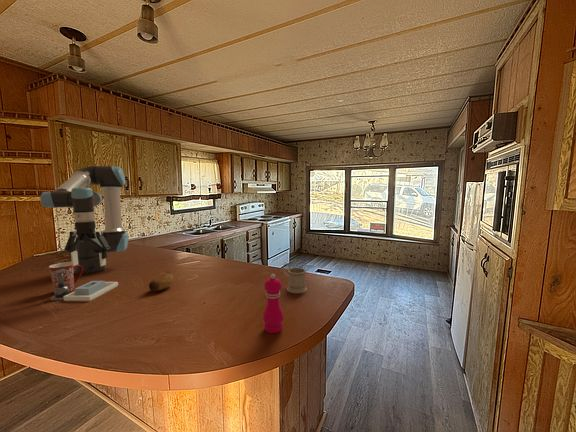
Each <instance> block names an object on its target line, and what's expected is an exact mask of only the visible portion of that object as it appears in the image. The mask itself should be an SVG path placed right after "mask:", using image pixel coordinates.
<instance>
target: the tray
mask: <svg viewBox="0 0 576 432" xmlns="http://www.w3.org/2000/svg"><path fill="white" fill-rule="evenodd" d="M117 287H119V282H118V281H105V288H103V289H101V290H99V291H97V292H95V293H93V294H92V295H90V296H75V290H73V291H71V292H72V293H70V294H68V295H66V296H63V297H64V300H63V301H64V302H91V301H94V300H95V299H97V298H99V297H101V296H102V295H104V294H106V293H108V292H110V291H112V290H113V289H115V288H117Z"/></svg>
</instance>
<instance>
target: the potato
mask: <svg viewBox="0 0 576 432" xmlns="http://www.w3.org/2000/svg"><path fill="white" fill-rule="evenodd" d="M174 278H175V277H174V274H173V273H172V271H168V270H165V271H164V270H163V271H162V272H160V273H158V275H156V276H155V277H154V278H152V279H151V280H150V282H149V284H148V288H149V290H151V291H155V292H157V291H158V292H159V291H163V290H165V289H168V287H170V286H171V285H172V284H173V281H174Z"/></svg>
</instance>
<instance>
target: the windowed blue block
mask: <svg viewBox="0 0 576 432" xmlns="http://www.w3.org/2000/svg"><path fill="white" fill-rule="evenodd" d="M105 282H106V281H105V280H91V281H89V282H87V283H84V284H82V285H80V286H78V287H76V288H75V287H74V291H75V296H90V295H92V294H93V293H95V292H97V291H99V290H101V289H103V288H105Z"/></svg>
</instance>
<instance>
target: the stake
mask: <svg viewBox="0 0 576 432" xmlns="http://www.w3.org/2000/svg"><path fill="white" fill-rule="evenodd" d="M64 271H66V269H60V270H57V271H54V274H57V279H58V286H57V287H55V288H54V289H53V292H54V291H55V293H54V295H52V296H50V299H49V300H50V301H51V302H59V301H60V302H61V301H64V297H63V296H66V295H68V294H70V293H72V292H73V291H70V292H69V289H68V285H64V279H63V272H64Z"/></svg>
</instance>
